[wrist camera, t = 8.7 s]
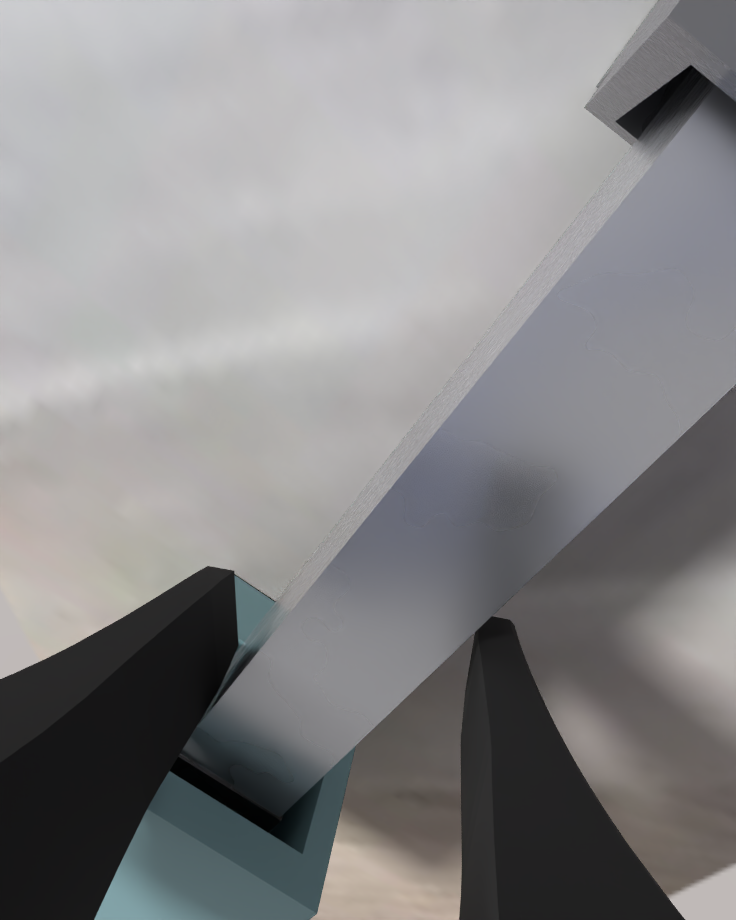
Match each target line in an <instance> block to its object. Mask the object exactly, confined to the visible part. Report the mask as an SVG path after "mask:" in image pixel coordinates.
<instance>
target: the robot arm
mask: <svg viewBox="0 0 736 920" xmlns="http://www.w3.org/2000/svg"><path fill="white" fill-rule="evenodd" d="M238 646H239V645H238V628H237V611H236V594H235V576H234V571H232V570H226V569H221V568H215V567H210V566H207V567H205V568H204V569H202V570H200V571H198V572H197V573H195V574H193V575H192V576H190V577H188V578H187V579H185V580H183V581H182V582H180V583H179V584H177V585H175V586H174V587H172V588H171V589H169V590H167V591H166V592H164V593H163V594H161V595H159V596H158V597H156V598H155V599H153V600H151V601H150V602H148V603H146V604H145V605H143V606H141V607H140V608H138V609H136V610H135V611H133V612H131V613H130V614H128V615H126V616H125V617H123V618H121V619H120V620H118V621H116V622H114V623H112V624H111V625H109V626H107V627H105V628H103V629H102V630H100V631H98V632H96V633H94V634H93V635H91V636H89V637H87V638H85V639H84V640H82V641H80V642H78V643H76V644H75V645H73V646H71V647H69V648H67V649H65V650H63V651H61V652H59V653H57V654H55V655H53V656H51V657H49V658H47V659H45V660H42V661H40V662H38V663H36V664H34V665H32V666H29V667H27V668H25V669H23V670H21V671H19V672H16V673H14V674H12V675H9V676H7V677H5V678H3V679H0V920H94V919H95V917H96V915H97V912H98V910H99V908H100V906H101V904H102V902H103V900H104V897H105V895H106V893H107V891H108V889H109V887H110V885H111V882H112V880H113V878H114V876H115V874H116V872H117V870H118V867H119V865H120V863H121V861H122V859H123V857H124V855H125V853H126V851H127V849H128V847H129V845H130V843H131V841H132V839H133V837H134V835H135V833H136V831H137V829H138V827H139V825H140V823H141V820H142V818H143V816H144V814H145V812H146V810H147V809H148V807H149V805H150V803H151V801H152V800H153V798H154V796H155V794H156V793H157V791H158V789H159V787H160V786H161V784H162V782H163V781H164V779H165V777H166V776H167V774H168V772H169V771H170V769H171V768H172V766H173V764H174V763H175V761H176V759H177V758H178V756H179V754H180V753H181V751H182V750H183V748H184V746H185V745H186V743H187V741H188V740H189V738H190V737H191V735H192V733H193V732H194V730H195V728H196V727H197V725H198V723H199V722H200V720H201V718H202V717H203V715H204V714H205V712H206V710H207V709H208V707H209V705H210V704H211V702H212V700H213V699H214V697H215V695H216V693H217V692H218V690H219V688H220V686H221V684H222V682H223V679H224V677H225V675H226V673H227V671H228V669H229V666H230V664H231V662H232V659H233V657H234V655H235V653H236V650H237V648H238ZM461 818H462V882H461V903H460V917H459V920H685V919H684V918H683V917H682V915H681V914H680V913H679V912H678V910H677V909H676V908H675V906H674V905H673V904H672V903H671V901H670V900H669V898H668V897H667V896H666V894H665V893H664V892H663V890H662V889H661V888H660V886H659V885H658V884H657V882H656V881H655V880H654V878H653V877H652V876H651V875H650V873H649V872H648V871H647V869H646V868H645V867H644V865H643V864H642V863H641V861H640V860H639V859H638V857H637V856H636V855H635V853H634V852H633V851H632V849H631V848H630V847H629V845H628V844H627V842H626V841H625V839H624V838H623V836H622V835H621V833H620V832H619V830H618V829H617V828H616V826H615V825H614V823H613V822H612V820H611V819H610V817H609V816H608V814H607V813H606V811H605V810H604V808H603V807H602V805H601V803H600V802H599V800H598V799H597V797H596V796H595V794H594V792H593V791H592V789H591V788H590V786H589V784H588V783H587V781H586V779H585V778H584V776H583V774H582V773H581V771H580V769H579V768H578V766H577V764H576V762H575V761H574V759H573V757H572V755H571V754H570V752H569V750H568V748H567V746H566V744H565V743H564V741H563V739H562V737H561V735H560V733H559V731H558V729H557V727H556V725H555V724H554V722H553V720H552V718H551V716H550V713H549V711H548V709H547V707H546V705H545V703H544V701H543V699H542V696H541V694H540V692H539V690H538V688H537V686H536V683H535V681H534V679H533V676H532V674H531V672H530V669H529V667H528V664H527V662H526V659H525V656H524V654H523V651H522V648H521V645H520V642H519V639H518V636H517V633H516V629H515V626H514V624H513V623H512V622H511V621H510V620H508V619H503V618H497V617H490V618H489V619H488V620H487V621H486V622H485V623H484V624H483V625H482V626H481V627H480V628H479V629H478V630H477V631H476V632H475V637H474V643H473V649H472V655H471V661H470V667H469V673H468V679H467V685H466V691H465V701H464V712H463V723H462V734H461Z"/></svg>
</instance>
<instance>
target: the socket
mask: <svg viewBox="0 0 736 920" xmlns="http://www.w3.org/2000/svg"><path fill="white" fill-rule="evenodd" d="M234 576H235V575H234ZM235 594H236V611H237V628H238V645H239V646H238V648H237V650H236V652H237V651H238V649H239V648H240V647H241V646H242V644H243V643H244V642H245V640H246V639H247V638H248V637H249V635H250V634H251V633H252V631H253V630H254V629H255V628H256V626H257V625H258V624H259V623H260V621H261V620H262V619H263V617H264V616H265V615H266V614H267V612H268V611H269V610H270V608H271V607H272V606H273V605H274V603H275V602H274V601H273V600H271V599H270V598H268V597H267V596H265V595H264V594H262V593H261V592H259V591H258V590H256V589H255V588H253V587H252V586H250V585H249V584H247V583H246V582H244V581H243V580H241V579H240V578H238V577H237V576H235ZM355 747H356V746H355ZM355 747H354V748H353V749H351V750H350V751H349V752H348V753H347V754H346V755H345V756H344V757H343V758H342V759H341V760H340V761H339V762H338V763H337V764H336V765H335V766H334V767H333V768H331V769H330V770H329V771H328V772H327V773H326V774H325V775H324V776H323V777H322V778H321V779H320V780H319V781H318V782H317V783H316V784H315V785H314V786H313V787H311V788H310V789H309V790H308V791H307V792H306V793H305V794H304V795H303V796H302V797H301V798H300V799H299V800H298V801H297V802H296V803H295V804H294V805H293V806H291V807H290V808H289V809H288V810H287V811H286V812H285V813H284V814H283V817H282V820H281V822H280V823H278V824H277V825H276V826H275V827H274V828H273V829H272V830H271V831H270V832H269V833H268V832H266V831H265V830H263V829H261V828H260V827H258V826H257V825H255V824H253V823H252V822H250V821H249V820H247V819H245V818H244V817H242V816H241V815H239V814H237V813H236V812H234V811H233V810H231V809H229V808H228V807H226V806H225V805H223V804H221V803H220V802H218V801H217V800H215V799H213V798H212V797H210V796H209V795H207V794H205V793H204V792H202V791H201V790H199V789H197V788H196V787H194V786H193V785H191V784H189V783H188V782H186V781H185V780H183V779H181V778H180V777H178V776H177V775H175V774H173V773H172V772H170V771H169V772H168V774H167V776H166V777H165V779H164V781H163V782H162V784H161V786H160V787H159V789H158V791H157V793H156V794H155V796H154V798H153V800H152V801H151V803H150V805H149V807H148V809H147V810H146V812H145V814H144V816H143V818H142V820H141V823H140V825H139V827H138V829H137V831H136V833H135V835H134V837H133V839H132V841H131V843H130V845H129V847H128V849H127V851H126V853H125V855H124V857H123V859H122V861H121V863H120V865H119V867H118V870H117V872H116V874H115V876H114V878H113V880H112V882H111V885H110V887H109V889H108V891H107V893H106V895H105V897H104V900H103V902H102V904H101V906H100V908H99V910H98V912H97V915H96V917H95V919H94V920H309V919H311V918H312V917H313V916H315V915H316V914H317V911H318V907H319V903H320V898H321V894H322V890H323V885H324V881H325V877H326V872H327V868H328V864H329V859H330V855H331V851H332V846H333V842H334V838H335V833H336V829H337V825H338V820H339V816H340V812H341V807H342V803H343V799H344V794H345V790H346V786H347V781H348V777H349V773H350V768H351V764H352V760H353V755H354V751H355Z"/></svg>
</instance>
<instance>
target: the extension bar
mask: <svg viewBox="0 0 736 920" xmlns="http://www.w3.org/2000/svg"><path fill="white" fill-rule="evenodd" d="M735 385H736V102H735V101H734V100H733V99H732V98H731V97H729V96H728V95H727V94H726V93H725V92H723V91H722V90H721V89H720V88H718V87H717V86H716V85H715V84H714V83H712V82H711V81H710V80H709V79H708V78H706V77H705V76H704V75H703V74H702V73H700V72H699V71H698V70H697V69H695V68H694V67H693V69H692V70H691V71H690V72H689V74H688V75H687V76H686V78H685V79H684V80H683V81H682V83H681V84H680V85H679V87H678V88H677V89H676V90H675V92H674V93H673V94H672V95H671V97H670V98H669V99H668V101H667V102H666V103H665V104H664V106H663V107H662V108H661V110H660V111H659V112H658V113H657V115H656V116H655V117H654V119H653V120H652V121H651V122H650V124H649V125H648V126H647V127H646V129H645V130H644V131H643V133H642V134H641V135H640V136H639V138H638V139H637V140H636V142H635V143H634V144H633V145H632V147H631V148H630V149H629V150H628V152H627V153H626V154H625V156H624V157H623V158H622V159H621V161H620V162H619V163H618V165H617V166H616V167H615V168H614V170H613V171H612V172H611V174H610V175H609V176H608V177H607V179H606V180H605V181H604V182H603V184H602V185H601V186H600V188H599V189H598V190H597V191H596V193H595V194H594V195H593V197H592V198H591V199H590V200H589V202H588V203H587V204H586V205H585V207H584V208H583V209H582V211H581V212H580V213H579V214H578V216H577V217H576V218H575V220H574V221H573V222H572V223H571V225H570V226H569V227H568V229H567V230H566V231H565V232H564V234H563V235H562V236H561V237H560V239H559V240H558V241H557V243H556V244H555V245H554V246H553V248H552V249H551V250H550V252H549V253H548V254H547V255H546V257H545V258H544V259H543V261H542V262H541V263H540V264H539V266H538V267H537V268H536V269H535V271H534V272H533V273H532V275H531V276H530V277H529V278H528V280H527V281H526V282H525V284H524V285H523V286H522V287H521V289H520V290H519V291H518V292H517V294H516V295H515V296H514V298H513V299H512V300H511V301H510V303H509V304H508V305H507V307H506V308H505V309H504V310H503V312H502V313H501V314H500V316H499V317H498V318H497V319H496V321H495V322H494V323H493V324H492V326H491V327H490V328H489V330H488V331H487V332H486V333H485V335H484V336H483V337H482V339H481V340H480V341H479V342H478V344H477V345H476V346H475V347H474V349H473V350H472V351H471V353H470V354H469V355H468V356H467V358H466V359H465V360H464V362H463V363H462V364H461V365H460V367H459V368H458V369H457V371H456V372H455V373H454V374H453V376H452V377H451V378H450V379H449V381H448V382H447V383H446V385H445V386H444V387H443V388H442V390H441V391H440V392H439V394H438V395H437V396H436V397H435V399H434V400H433V401H432V403H431V404H430V405H429V406H428V408H427V409H426V410H425V411H424V413H423V414H422V415H421V417H420V418H419V419H418V420H417V422H416V423H415V424H414V426H413V427H412V428H411V429H410V431H409V432H408V433H407V434H406V436H405V437H404V438H403V440H402V441H401V442H400V443H399V445H398V446H397V447H396V449H395V450H394V451H393V452H392V454H391V455H390V456H389V458H388V459H387V460H386V461H385V463H384V464H383V465H382V466H381V468H380V469H379V470H378V472H377V473H376V474H375V475H374V477H373V478H372V479H371V481H370V482H369V483H368V484H367V486H366V487H365V488H364V489H363V491H362V492H361V493H360V495H359V496H358V497H357V498H356V500H355V501H354V502H353V504H352V505H351V506H350V507H349V509H348V510H347V511H346V513H345V514H344V515H343V516H342V518H341V519H340V520H339V521H338V523H337V524H336V525H335V527H334V528H333V529H332V530H331V532H330V533H329V534H328V536H327V537H326V538H325V539H324V541H323V542H322V543H321V545H320V546H319V547H318V548H317V550H316V551H315V552H314V553H313V555H312V556H311V557H310V559H309V560H308V561H307V562H306V564H305V565H304V566H303V568H302V569H301V570H300V571H299V573H298V574H297V575H296V576H295V578H294V579H293V580H292V582H291V583H290V584H289V585H288V587H287V588H286V589H285V591H284V592H283V593H282V594H281V596H280V597H279V598H278V600H277V601H276V602H275V603H274V605H273V606H272V607H271V608H270V610H269V611H268V612H267V614H266V615H265V616H264V617H263V619H262V620H261V621H260V623H259V624H258V625H257V626H256V628H255V629H254V630H253V631H252V633H251V634H250V635H249V637H248V638H247V639H246V640H245V642H244V643H243V644H242V646H241V647H240V648H239V649H238V651H237V652H236V653H235V655H234V657H233V659H232V662H231V664H230V666H229V669H228V671H227V673H226V675H225V677H224V679H223V682H222V684H221V686H220V688H219V690H218V692H217V693H216V695H215V697H214V699H213V700H212V702H211V704H210V705H209V707H208V709H207V710H206V712H205V714H204V715H203V717H202V718H201V720H200V722H199V723H198V725H197V727H196V728H195V730H194V732H193V733H192V735H191V737H190V738H189V740H188V741H187V743H186V745H185V746H184V748H183V750H182V751H181V753H180V754H179V756H178V758H177V759H176V761H175V763H174V764H173V766H172V768H171V769H170V772H172V773H173V774H175V775H177V776H178V777H180V778H181V779H183V780H185V781H186V782H188V783H189V784H191V785H193V786H194V787H196V788H197V789H199V790H201V791H202V792H204V793H205V794H207V795H209V796H210V797H212V798H213V799H215V800H217V801H218V802H220V803H221V804H223V805H225V806H226V807H228V808H229V809H231V810H233V811H234V812H236V813H237V814H239V815H241V816H242V817H244V818H245V819H247V820H249V821H250V822H252V823H253V824H255V825H257V826H258V827H260V828H261V829H263V830H265V831H266V832H268V833H269V832H270V831H271V830H272V829H273V828H274V827H275V826H276V825H277V824H278V823H280V822H281V820H282V817H283V814H284V813H285V812H286V811H287V810H288V809H289V808H290V807H291V806H293V805H294V804H295V803H296V802H297V801H298V800H299V799H300V798H301V797H302V796H303V795H304V794H305V793H306V792H307V791H308V790H309V789H310V788H311V787H313V786H314V785H315V784H316V783H317V782H318V781H319V780H320V779H321V778H322V777H323V776H324V775H325V774H326V773H327V772H328V771H329V770H330V769H331V768H333V767H334V766H335V765H336V764H337V763H338V762H339V761H340V760H341V759H342V758H343V757H344V756H345V755H346V754H347V753H348V752H349V751H350V750H351V749H353V748H354V747H355V746H356V745H357V744H358V743H359V742H360V741H361V740H362V739H363V738H364V737H365V736H366V735H367V734H368V733H369V732H370V731H371V730H373V729H374V728H375V727H376V726H377V725H378V724H379V723H380V722H381V721H382V720H383V719H384V718H385V717H386V716H387V715H388V714H389V713H390V712H392V711H393V710H394V709H395V708H396V707H397V706H398V705H399V704H400V703H401V702H402V701H403V700H404V699H405V698H406V697H407V696H408V695H409V694H410V693H412V692H413V691H414V690H415V689H416V688H417V687H418V686H419V685H420V684H421V683H422V682H423V681H424V680H425V679H426V678H427V677H428V676H429V675H430V674H432V673H433V672H434V671H435V670H436V669H437V668H438V667H439V666H440V665H441V664H442V663H443V662H444V661H445V660H446V659H447V658H448V657H449V656H450V655H452V654H453V653H454V652H455V651H456V650H457V649H458V648H459V647H460V646H461V645H462V644H463V643H464V642H465V641H466V640H467V639H468V638H469V637H470V636H472V635H473V634H474V633H475V632H476V631H477V630H478V629H479V628H480V627H481V626H482V625H483V624H484V623H485V622H486V621H487V620H488V619H489V618H490V617H492V616H493V615H494V614H495V613H496V612H497V611H498V610H499V609H500V608H501V607H502V606H503V605H504V604H505V603H506V602H507V601H508V600H509V599H510V598H512V597H513V596H514V595H515V594H516V593H517V592H518V591H519V590H520V589H521V588H522V587H523V586H524V585H525V584H526V583H527V582H528V581H529V580H530V579H532V578H533V577H534V576H535V575H536V574H537V573H538V572H539V571H540V570H541V569H542V568H543V567H544V566H545V565H546V564H547V563H548V562H549V561H550V560H552V559H553V558H554V557H555V556H556V555H557V554H558V553H559V552H560V551H561V550H562V549H563V548H564V547H565V546H566V545H567V544H568V543H569V542H570V541H572V540H573V539H574V538H575V537H576V536H577V535H578V534H579V533H580V532H581V531H582V530H583V529H584V528H585V527H586V526H587V525H588V524H589V523H590V522H592V521H593V520H594V519H595V518H596V517H597V516H598V515H599V514H600V513H601V512H602V511H603V510H604V509H605V508H606V507H607V506H608V505H609V504H610V503H612V502H613V501H614V500H615V499H616V498H617V497H618V496H619V495H620V494H621V493H622V492H623V491H624V490H625V489H626V488H627V487H628V486H629V485H631V484H632V483H633V482H634V481H635V480H636V479H637V478H638V477H639V476H640V475H641V474H642V473H643V472H644V471H645V470H646V469H647V468H648V467H649V466H651V465H652V464H653V463H654V462H655V461H656V460H657V459H658V458H659V457H660V456H661V455H662V454H663V453H664V452H665V451H666V450H667V449H668V448H669V447H671V446H672V445H673V444H674V443H675V442H676V441H677V440H678V439H679V438H680V437H681V436H682V435H683V434H684V433H685V432H686V431H687V430H688V429H689V428H691V427H692V426H693V425H694V424H695V423H696V422H697V421H698V420H699V419H700V418H701V417H702V416H703V415H704V414H705V413H706V412H707V411H708V410H709V409H711V408H712V407H713V406H714V405H715V404H716V403H717V402H718V401H719V400H720V399H721V398H722V397H723V396H724V395H725V394H726V393H727V392H728V391H729V390H731V389H732V388H733V387H734V386H735Z"/></svg>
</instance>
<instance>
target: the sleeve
mask: <svg viewBox="0 0 736 920" xmlns="http://www.w3.org/2000/svg"><path fill="white" fill-rule="evenodd" d="M693 67H694V68H695V69H697V70H698V71H699V72H700V73H702V74H703V75H704V76H705V77H706V78H708V79H709V80H710V81H711V82H712V83H714V84H715V85H716V86H717V87H718V88H720V89H721V90H722V91H723V92H725V93H726V94H727V95H728V96H729V97H731V98H732V99H733V100H734V101H735V102H736V0H658V2H657V3H656V4H655V6H654V7H653V8H652V10H651V11H650V13H649V14H648V15H647V17H646V18H645V20H644V21H643V22H642V24H641V25H640V27H639V28H638V29H637V31H636V32H635V33H634V35H633V36H632V38H631V39H630V40H629V42H628V43H627V45H626V46H625V47H624V49H623V50H622V51H621V53H620V54H619V56H618V57H617V58H616V60H615V61H614V63H613V64H612V65H611V67H610V68H609V69H608V71H607V72H606V74H605V75H604V76H603V78H602V79H601V81H600V82H599V83H598V85H597V86H596V87H597V88H598V89H597V91H596V92H595V93H594V95H593V96H592V97H591V99H590V100H589V102H588V103H587V104H586V106H585V107H584V108H586V109H587V110H588V111H589V112H591V113H592V114H593V115H594V116H596V117H597V118H598V119H599V120H601V121H602V122H603V123H604V124H606V125H607V126H608V127H609V128H611V129H612V130H613V131H614V132H615V133H617V134H618V135H619V136H620V137H622V138H623V139H624V140H625V141H627V142H628V143H629V144H630V145H633V144H634V143H635V142H636V140H637V139H638V138H639V136H640V135H641V134H642V133H643V131H644V130H645V129H646V127H647V126H648V125H649V124H650V122H651V121H652V120H653V119H654V117H655V116H656V115H657V113H658V112H659V111H660V110H661V108H662V107H663V106H664V104H665V103H666V102H667V101H668V99H669V98H670V97H671V95H672V94H673V93H674V92H675V90H676V89H677V88H678V87H679V85H680V84H681V83H682V81H683V80H684V79H685V78H686V76H687V75H688V74H689V72H690V71H691V70H692V69H693Z"/></svg>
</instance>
